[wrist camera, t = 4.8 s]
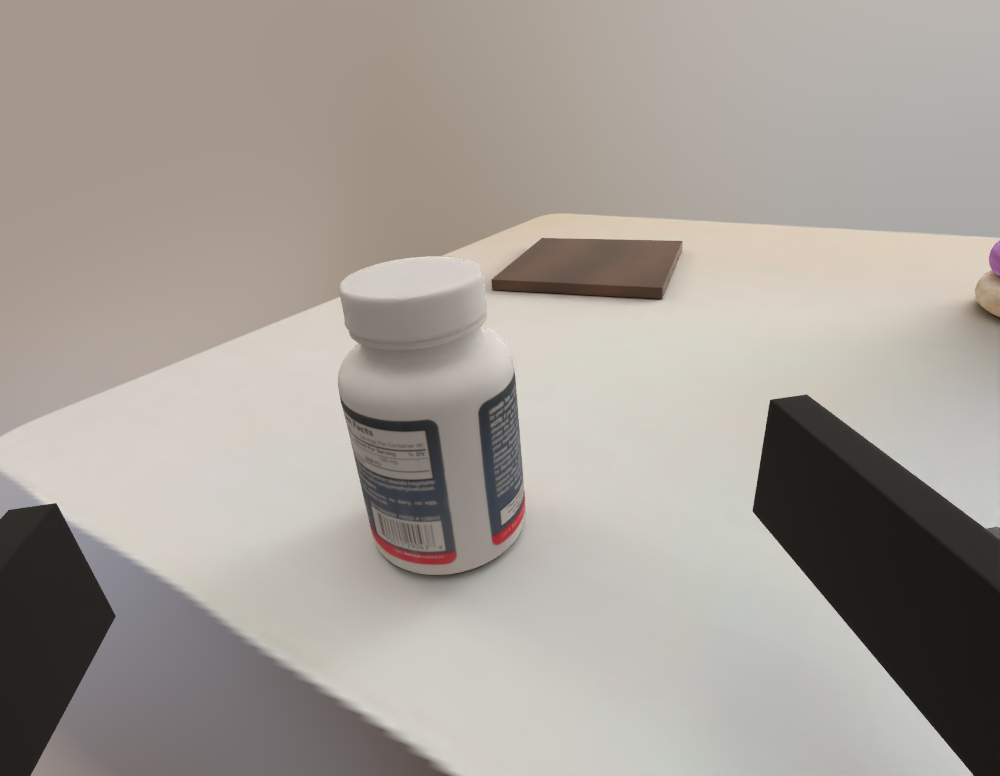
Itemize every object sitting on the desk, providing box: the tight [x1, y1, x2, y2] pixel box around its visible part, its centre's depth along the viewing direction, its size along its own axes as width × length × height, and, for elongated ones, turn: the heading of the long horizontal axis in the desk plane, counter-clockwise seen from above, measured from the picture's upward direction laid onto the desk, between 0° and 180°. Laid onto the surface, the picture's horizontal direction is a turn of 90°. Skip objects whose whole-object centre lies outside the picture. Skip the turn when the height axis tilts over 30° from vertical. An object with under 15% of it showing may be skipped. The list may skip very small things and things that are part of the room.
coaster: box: [492, 238, 682, 299], centre depth 45 cm, size 12×12×1 cm
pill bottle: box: [338, 256, 525, 575], centre depth 18 cm, size 5×5×9 cm
